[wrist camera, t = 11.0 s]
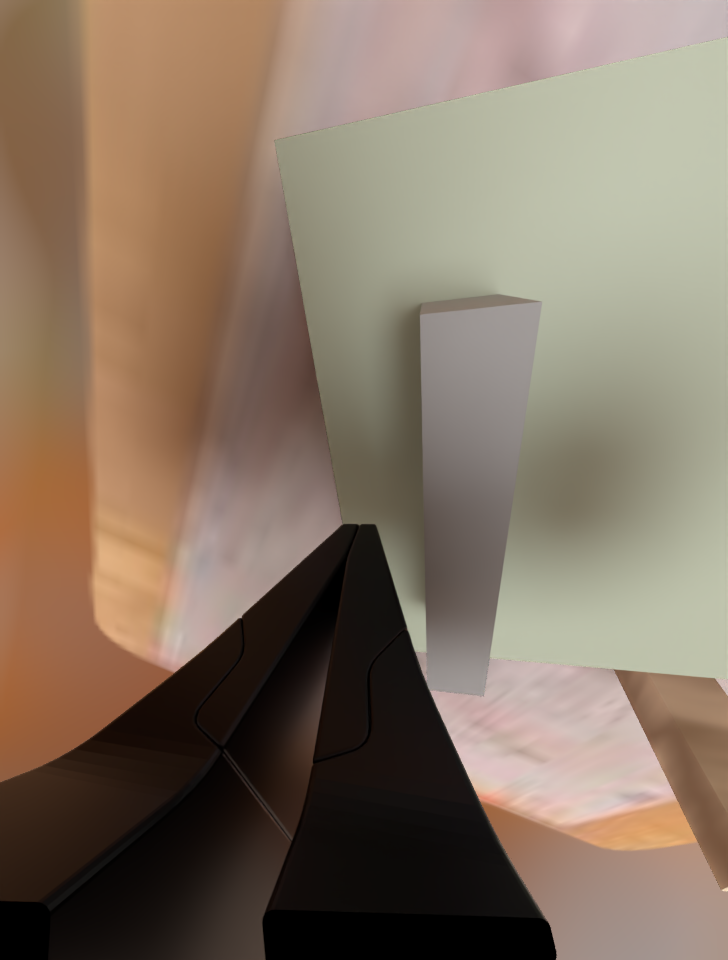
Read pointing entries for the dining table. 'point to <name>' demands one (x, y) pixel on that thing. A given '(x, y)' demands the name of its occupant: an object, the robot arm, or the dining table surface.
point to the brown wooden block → (689, 751)
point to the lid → (533, 361)
